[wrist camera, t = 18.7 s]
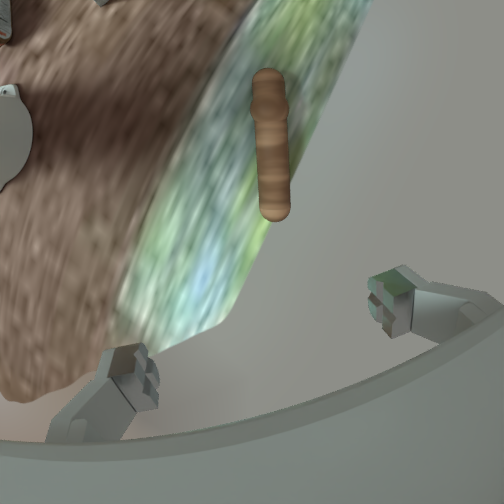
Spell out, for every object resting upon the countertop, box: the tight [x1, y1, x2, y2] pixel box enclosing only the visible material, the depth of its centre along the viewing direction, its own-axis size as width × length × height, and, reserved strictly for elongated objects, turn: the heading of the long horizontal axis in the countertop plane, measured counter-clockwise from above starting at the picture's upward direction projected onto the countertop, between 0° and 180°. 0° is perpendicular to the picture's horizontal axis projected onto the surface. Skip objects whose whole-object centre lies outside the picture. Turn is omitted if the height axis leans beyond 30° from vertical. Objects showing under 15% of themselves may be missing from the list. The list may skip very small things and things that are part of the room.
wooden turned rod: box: [250, 68, 291, 222], centre depth 40 cm, size 22×5×5 cm, turn 3°
